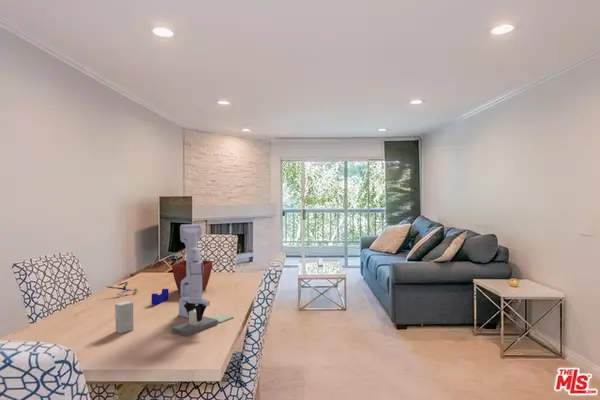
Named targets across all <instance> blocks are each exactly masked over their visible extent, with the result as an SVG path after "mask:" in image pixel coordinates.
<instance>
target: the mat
mask: <svg viewBox="0 0 600 400" xmlns="http://www.w3.org/2000/svg"><path fill="white" fill-rule="evenodd" d="M208 317H209V318H213V319H217V320H218V324H221V323H224V322H227V321H230V320H231V319H232V320H233V319H234V318H235V317H234V315H233V316H232V315H229V314H224V313H217V314H214V315H211V316H208Z"/></svg>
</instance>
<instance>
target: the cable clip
mask: <svg viewBox="0 0 600 400" xmlns="http://www.w3.org/2000/svg"><path fill="white" fill-rule="evenodd" d="M168 300H169V288H162V289H161V293H160V294H159V293H154V292H153V293H151V306H158V305H160V304H162V303H164V302H166V301H168Z"/></svg>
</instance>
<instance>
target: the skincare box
mask: <svg viewBox="0 0 600 400" xmlns="http://www.w3.org/2000/svg"><path fill="white" fill-rule="evenodd" d="M114 307H115V308H114V310H115V311H114V312H115V313H114V315H115V316H114V317H115V332H116V333H118V334H123V333H127V332H130V331H133V330H134V329H135V328H134V302H132V301H131V300H130V301H129V300H127V301H122V302H116V303H115V304H114Z"/></svg>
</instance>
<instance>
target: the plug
mask: <svg viewBox="0 0 600 400" xmlns="http://www.w3.org/2000/svg"><path fill="white" fill-rule="evenodd" d="M188 322H189V325H193V326H197V325H199V324H202V321H199V322H197V313H196V309H194V310H192V311H189V318H188Z"/></svg>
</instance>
